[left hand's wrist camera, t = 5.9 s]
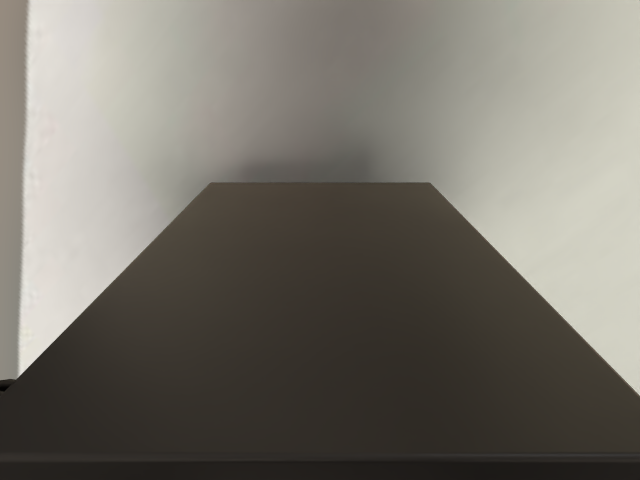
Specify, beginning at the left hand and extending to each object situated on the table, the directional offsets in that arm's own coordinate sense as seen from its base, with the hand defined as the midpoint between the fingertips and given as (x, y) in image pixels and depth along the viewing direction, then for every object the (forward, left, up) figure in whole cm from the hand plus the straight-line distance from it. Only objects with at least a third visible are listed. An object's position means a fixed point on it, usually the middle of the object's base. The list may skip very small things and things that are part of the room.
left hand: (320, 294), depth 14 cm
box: (+10, +3, -3) cm, 11 cm away
